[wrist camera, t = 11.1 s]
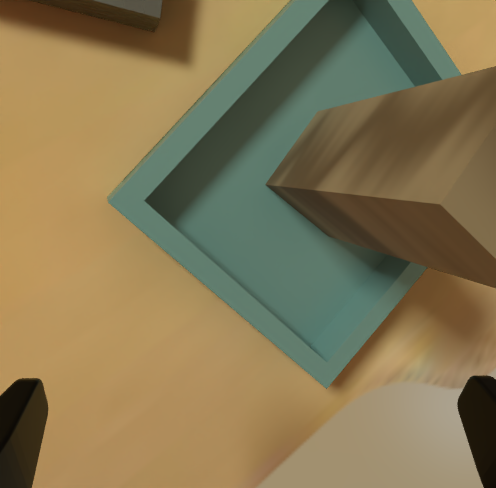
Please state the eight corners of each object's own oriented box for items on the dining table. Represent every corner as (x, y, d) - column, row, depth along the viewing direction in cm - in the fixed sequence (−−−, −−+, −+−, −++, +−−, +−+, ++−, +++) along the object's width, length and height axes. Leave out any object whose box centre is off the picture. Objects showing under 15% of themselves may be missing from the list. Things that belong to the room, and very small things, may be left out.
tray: (301, 364, 25) (326, 388, 22) (107, 197, 20) (107, 202, 18) (473, 159, 27) (518, 158, 24) (329, -42, 22) (363, -72, 19)
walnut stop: (328, 236, 23) (539, 302, 12) (265, 184, 22) (440, 204, 10) (376, 167, 24) (628, 169, 12) (317, 111, 22) (544, 54, 11)
